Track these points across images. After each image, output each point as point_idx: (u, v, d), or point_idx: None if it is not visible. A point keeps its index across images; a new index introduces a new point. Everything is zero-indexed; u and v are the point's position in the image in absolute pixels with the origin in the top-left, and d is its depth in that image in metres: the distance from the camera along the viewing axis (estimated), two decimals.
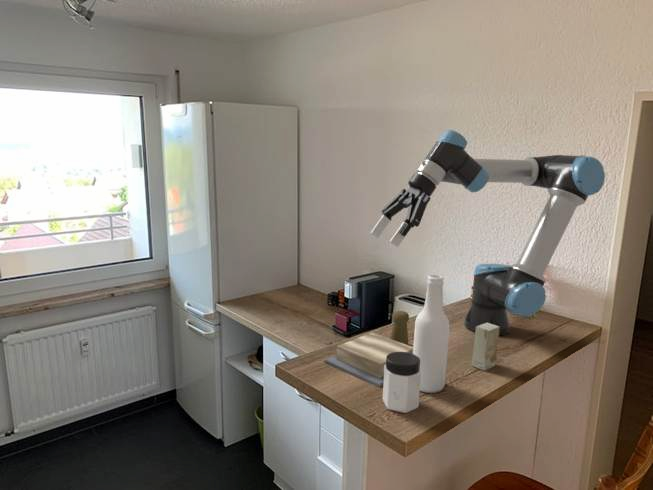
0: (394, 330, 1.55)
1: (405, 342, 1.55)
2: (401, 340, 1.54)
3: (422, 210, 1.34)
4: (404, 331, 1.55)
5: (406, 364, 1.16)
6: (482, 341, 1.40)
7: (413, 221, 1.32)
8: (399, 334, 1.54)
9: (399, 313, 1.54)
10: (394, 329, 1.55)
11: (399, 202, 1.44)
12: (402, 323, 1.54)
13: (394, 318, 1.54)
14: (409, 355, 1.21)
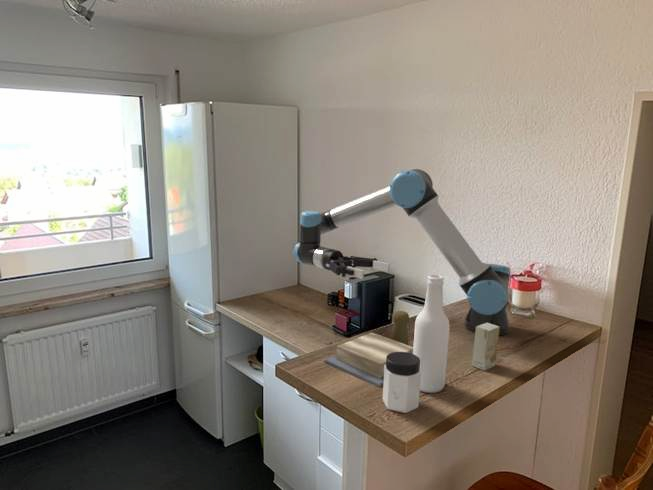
0: (394, 330, 1.55)
1: (405, 342, 1.55)
2: (401, 340, 1.54)
3: (332, 266, 1.62)
4: (405, 331, 1.55)
5: (406, 364, 1.16)
6: (482, 341, 1.40)
7: (337, 273, 1.59)
8: (399, 334, 1.54)
9: (399, 313, 1.54)
10: (394, 329, 1.55)
11: (354, 266, 1.71)
12: (402, 323, 1.54)
13: (394, 318, 1.54)
14: (409, 355, 1.21)
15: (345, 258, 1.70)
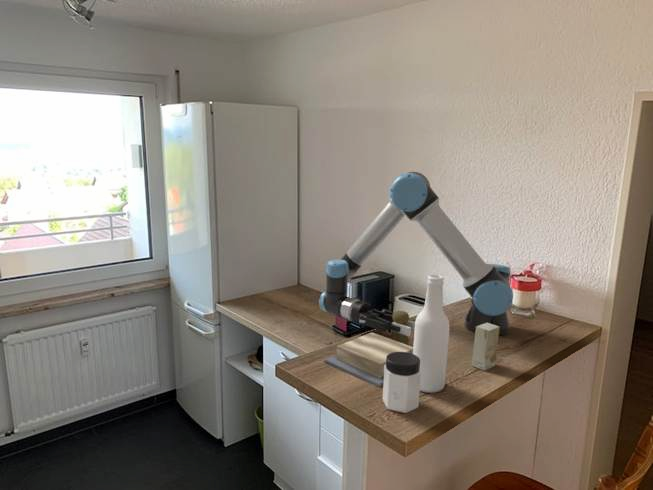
0: None
1: (405, 342, 1.55)
2: (401, 340, 1.54)
3: (372, 322, 1.57)
4: None
5: (406, 364, 1.16)
6: (482, 341, 1.40)
7: (384, 330, 1.54)
8: (399, 334, 1.54)
9: (399, 313, 1.54)
10: None
11: None
12: (402, 323, 1.54)
13: (394, 318, 1.54)
14: (409, 355, 1.21)
15: (373, 311, 1.64)
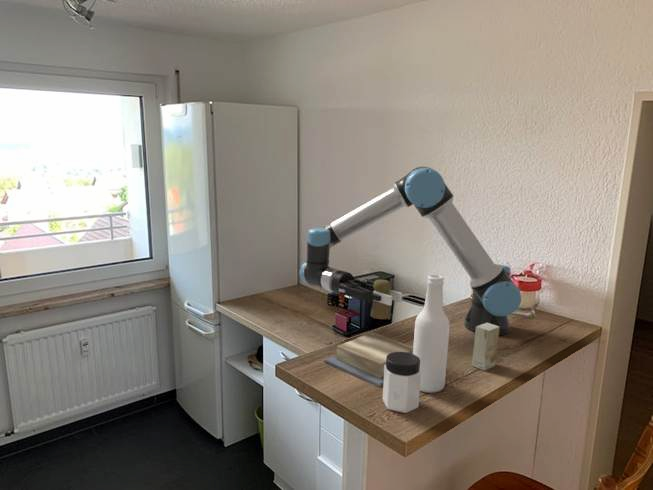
0: None
1: (386, 312, 1.46)
2: (382, 310, 1.45)
3: (351, 291, 1.47)
4: None
5: (406, 364, 1.16)
6: (482, 341, 1.40)
7: (364, 299, 1.44)
8: (380, 303, 1.45)
9: (380, 281, 1.45)
10: None
11: None
12: (383, 292, 1.44)
13: (375, 286, 1.45)
14: (409, 355, 1.21)
15: (355, 281, 1.55)
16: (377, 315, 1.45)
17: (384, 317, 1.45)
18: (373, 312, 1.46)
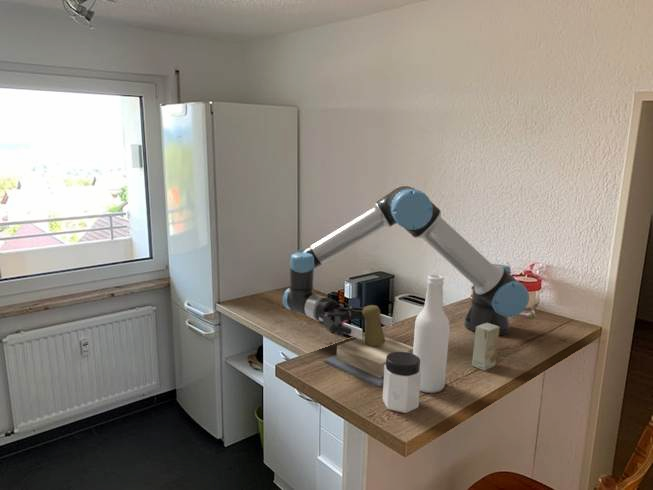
0: (366, 327, 1.43)
1: (380, 338, 1.43)
2: (376, 336, 1.43)
3: (326, 321, 1.40)
4: (378, 326, 1.43)
5: (406, 364, 1.16)
6: (482, 341, 1.40)
7: (332, 331, 1.36)
8: (372, 330, 1.43)
9: (368, 308, 1.43)
10: (366, 326, 1.44)
11: (352, 318, 1.48)
12: (373, 318, 1.42)
13: (364, 314, 1.43)
14: (409, 355, 1.21)
15: (341, 309, 1.48)
16: (371, 342, 1.43)
17: (379, 343, 1.43)
18: (367, 340, 1.44)
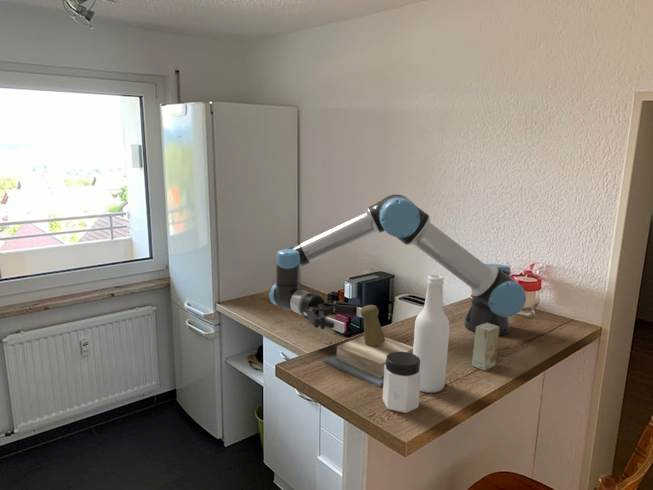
0: (366, 327, 1.43)
1: (380, 337, 1.43)
2: (375, 336, 1.43)
3: (310, 316, 1.44)
4: (377, 326, 1.43)
5: (406, 364, 1.16)
6: (482, 341, 1.40)
7: (315, 325, 1.40)
8: (372, 330, 1.43)
9: (367, 308, 1.42)
10: (365, 326, 1.43)
11: (336, 313, 1.52)
12: (372, 318, 1.42)
13: (362, 314, 1.43)
14: (409, 355, 1.21)
15: (326, 304, 1.52)
16: (371, 342, 1.43)
17: (379, 342, 1.43)
18: (367, 340, 1.44)
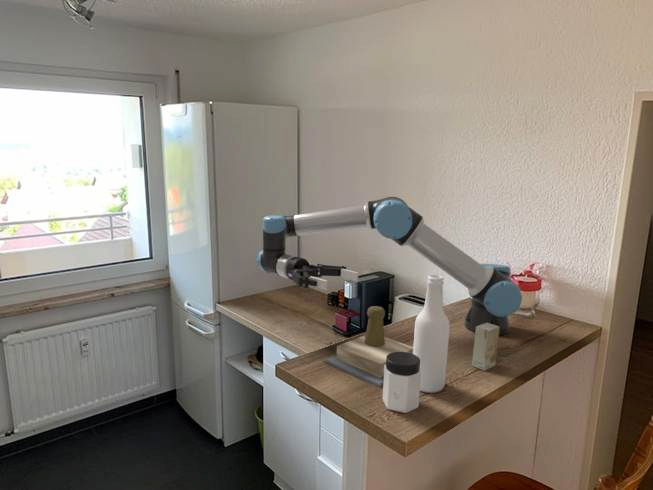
0: (369, 327, 1.44)
1: (381, 339, 1.44)
2: (377, 337, 1.43)
3: (294, 276, 1.47)
4: (381, 327, 1.44)
5: (406, 364, 1.16)
6: (482, 341, 1.40)
7: (299, 284, 1.43)
8: (375, 331, 1.43)
9: (375, 308, 1.43)
10: (369, 326, 1.44)
11: (321, 275, 1.55)
12: (378, 319, 1.43)
13: (369, 314, 1.43)
14: (409, 355, 1.21)
15: (310, 267, 1.55)
16: (372, 342, 1.43)
17: (379, 344, 1.44)
18: (368, 340, 1.44)
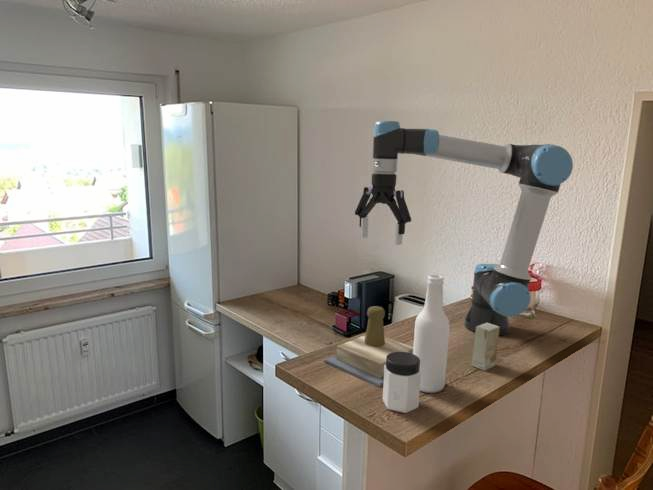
0: (369, 327, 1.44)
1: (381, 339, 1.44)
2: (377, 337, 1.43)
3: (405, 205, 1.48)
4: (381, 328, 1.44)
5: (406, 364, 1.16)
6: (482, 341, 1.40)
7: (407, 221, 1.46)
8: (375, 331, 1.43)
9: (374, 308, 1.43)
10: (369, 326, 1.44)
11: (372, 203, 1.54)
12: (378, 319, 1.43)
13: (369, 314, 1.43)
14: (409, 355, 1.21)
15: None
16: (372, 342, 1.43)
17: (379, 344, 1.44)
18: (368, 340, 1.44)
